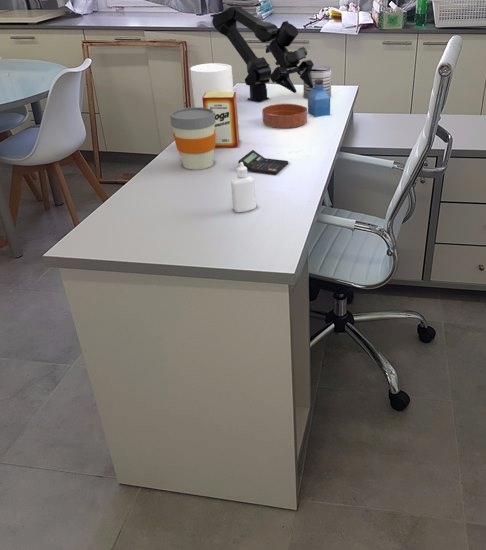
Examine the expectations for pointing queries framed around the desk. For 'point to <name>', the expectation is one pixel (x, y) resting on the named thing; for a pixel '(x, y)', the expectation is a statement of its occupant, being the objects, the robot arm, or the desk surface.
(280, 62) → the robot arm
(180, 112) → the reusable coffee cup
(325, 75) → the can
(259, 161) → the calculator
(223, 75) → the canister
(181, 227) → the desk surface
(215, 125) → the baking soda box
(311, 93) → the perfume bottle
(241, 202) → the eye dropper bottle
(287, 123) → the bowl
